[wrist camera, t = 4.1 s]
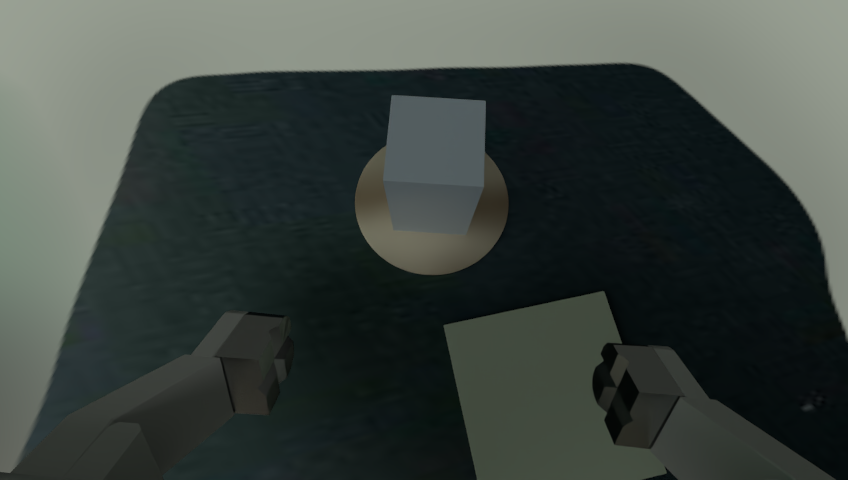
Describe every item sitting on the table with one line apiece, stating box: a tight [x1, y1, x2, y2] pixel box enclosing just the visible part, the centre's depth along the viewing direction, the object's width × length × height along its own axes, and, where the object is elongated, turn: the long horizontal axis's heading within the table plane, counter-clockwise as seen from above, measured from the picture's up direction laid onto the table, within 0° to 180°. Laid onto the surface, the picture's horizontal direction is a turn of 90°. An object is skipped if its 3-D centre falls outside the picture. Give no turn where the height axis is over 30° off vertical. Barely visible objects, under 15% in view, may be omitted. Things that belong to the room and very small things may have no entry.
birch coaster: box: [355, 146, 509, 275], centre depth 25 cm, size 10×10×1 cm
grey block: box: [383, 95, 486, 235], centre depth 22 cm, size 5×5×7 cm
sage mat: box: [443, 291, 667, 480], centre depth 22 cm, size 10×10×1 cm
